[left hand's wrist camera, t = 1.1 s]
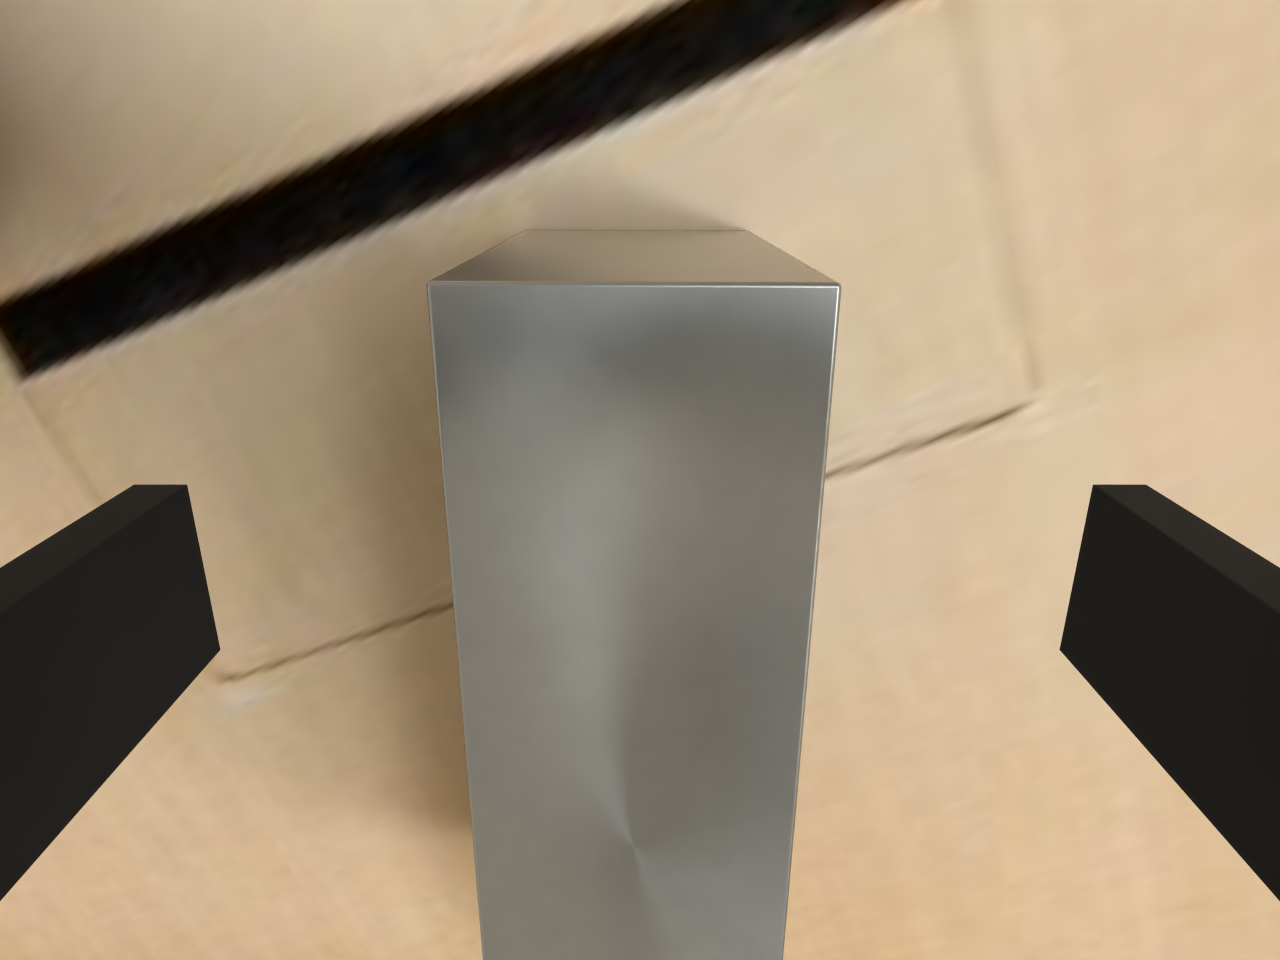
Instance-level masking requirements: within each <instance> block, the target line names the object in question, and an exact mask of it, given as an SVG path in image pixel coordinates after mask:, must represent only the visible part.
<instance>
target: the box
mask: <svg viewBox="0 0 1280 960" xmlns="http://www.w3.org/2000/svg"><path fill="white" fill-rule="evenodd" d="M427 294H428V306H429V318H430V330H431V342H432V354H433V366H434V378H435V390H436V402H437V414H438V426H439V438H440V450H441V462H442V474H443V486H444V498H445V510H446V522H447V534H448V546H449V558H450V570H451V582H452V594H453V606H454V618H455V630H456V642H457V654H458V666H459V678H460V690H461V702H462V714H463V726H464V738H465V750H466V762H467V774H468V786H469V798H470V810H471V822H472V834H473V846H474V858H475V870H476V882H477V894H478V906H479V918H480V930H481V942H482V954H483V960H783V952H784V940H785V929H786V917H787V906H788V894H789V883H790V872H791V860H792V849H793V837H794V826H795V814H796V803H797V791H798V780H799V768H800V757H801V745H802V734H803V722H804V711H805V700H806V688H807V677H808V665H809V654H810V642H811V631H812V619H813V608H814V596H815V585H816V573H817V562H818V550H819V539H820V528H821V516H822V505H823V493H824V482H825V470H826V459H827V447H828V436H829V424H830V413H831V401H832V390H833V378H834V367H835V356H836V344H837V333H838V321H839V310H840V298H841V285H840V283H838V282H836V281H834V280H833V279H831V278H829V277H827V276H826V275H824V274H822V273H821V272H819V271H817V270H815V269H814V268H812V267H810V266H808V265H807V264H805V263H803V262H802V261H800V260H798V259H796V258H795V257H793V256H791V255H789V254H788V253H786V252H784V251H783V250H781V249H779V248H777V247H776V246H774V245H772V244H770V243H769V242H767V241H765V240H764V239H762V238H760V237H758V236H757V235H755V234H753V233H751V232H750V231H663V230H525V231H523V232H521V233H519V234H517V235H515V236H514V237H512V238H510V239H508V240H506V241H504V242H502V243H500V244H499V245H497V246H495V247H493V248H491V249H489V250H487V251H485V252H483V253H482V254H480V255H478V256H476V257H474V258H472V259H470V260H468V261H467V262H465V263H463V264H461V265H459V266H457V267H455V268H453V269H451V270H450V271H448V272H446V273H444V274H442V275H440V276H438V277H436V278H435V279H433V280H431V281H429V282H428V283H427Z"/></svg>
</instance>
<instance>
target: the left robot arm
mask: <svg viewBox="0 0 1280 960" xmlns="http://www.w3.org/2000/svg"><path fill="white" fill-rule="evenodd" d="M219 651H220V646H219V641H218V636H217V631H216V626H215V621H214V616H213V611H212V606H211V601H210V596H209V591H208V587H207V582H206V577H205V572H204V567H203V562H202V557H201V552H200V547H199V542H198V537H197V532H196V527H195V522H194V517H193V512H192V507H191V502H190V497H189V492H188V487H187V485H133V486H131V487H130V488H128V489H126V490H125V491H123V492H122V493H120V494H118V495H117V496H115V497H114V498H112V499H110V500H109V501H107V502H106V503H104V504H102V505H101V506H99V507H97V508H96V509H94V510H93V511H91V512H89V513H88V514H86V515H85V516H83V517H81V518H80V519H78V520H77V521H75V522H73V523H72V524H70V525H69V526H67V527H65V528H64V529H62V530H60V531H59V532H57V533H56V534H54V535H52V536H51V537H49V538H48V539H46V540H44V541H43V542H41V543H40V544H38V545H36V546H35V547H33V548H31V549H30V550H28V551H27V552H25V553H23V554H22V555H20V556H19V557H17V558H15V559H14V560H12V561H11V562H9V563H7V564H6V565H4V566H3V567H1V568H0V901H1V900H2V898H3V897H4V896H5V895H6V894H7V893H8V892H9V890H10V889H11V888H12V887H13V886H14V885H15V884H16V882H17V881H18V880H19V879H20V878H21V877H22V876H23V874H24V873H25V872H26V871H27V870H28V869H29V868H30V866H31V865H32V864H33V863H34V862H35V861H36V860H37V858H38V857H39V856H40V855H41V854H42V853H43V852H44V850H45V849H46V848H47V847H48V846H49V845H50V844H51V842H52V841H53V840H54V839H55V838H56V837H57V836H58V834H59V833H60V832H61V831H62V830H63V829H64V828H65V826H66V825H67V824H68V823H69V822H70V821H71V820H72V818H73V817H74V816H75V815H76V814H77V813H78V812H79V810H80V809H81V808H82V807H83V806H84V805H85V804H86V802H87V801H88V800H89V799H90V798H91V797H92V796H93V794H94V793H95V792H96V791H97V790H98V789H99V788H100V786H101V785H102V784H103V783H104V782H105V781H106V780H107V778H108V777H109V776H110V775H111V774H112V773H113V772H114V770H115V769H116V768H117V767H118V766H119V765H120V764H121V762H122V761H123V760H124V759H125V758H126V757H127V756H128V755H129V753H130V752H131V751H132V750H133V749H134V748H135V747H136V745H137V744H138V743H139V742H140V741H141V740H142V739H143V737H144V736H145V735H146V734H147V733H148V732H149V731H150V729H151V728H152V727H153V726H154V725H155V724H156V723H157V721H158V720H159V719H160V718H161V717H162V716H163V715H164V713H165V712H166V711H167V710H168V709H169V708H170V707H171V705H172V704H173V703H174V702H175V701H176V700H177V699H178V697H179V696H180V695H181V694H182V693H183V692H184V691H185V689H186V688H187V687H188V686H189V685H190V684H191V683H192V681H193V680H194V679H195V678H196V677H197V676H198V675H199V673H200V672H201V671H202V670H203V669H204V668H205V667H206V665H207V664H208V663H209V662H210V661H211V660H212V659H213V657H214V656H215V655H216V654H217V653H218V652H219ZM1060 651H1061V652H1062V653H1063V654H1064V655H1065V656H1066V657H1067V659H1068V660H1069V661H1070V662H1071V663H1072V664H1073V665H1074V667H1075V668H1076V669H1077V670H1078V671H1079V672H1080V673H1081V675H1082V676H1083V677H1084V678H1085V679H1086V680H1087V681H1088V683H1089V684H1090V685H1091V686H1092V687H1093V688H1094V689H1095V691H1096V692H1097V693H1098V694H1099V695H1100V696H1101V697H1102V699H1103V700H1104V701H1105V702H1106V703H1107V704H1108V705H1109V707H1110V708H1111V709H1112V710H1113V711H1114V712H1115V713H1116V715H1117V716H1118V717H1119V718H1120V719H1121V720H1122V721H1123V723H1124V724H1125V725H1126V726H1127V727H1128V728H1129V729H1130V731H1131V732H1132V733H1133V734H1134V735H1135V736H1136V737H1137V739H1138V740H1139V741H1140V742H1141V743H1142V744H1143V745H1144V747H1145V748H1146V749H1147V750H1148V751H1149V752H1150V753H1151V755H1152V756H1153V757H1154V758H1155V759H1156V760H1157V761H1158V762H1159V764H1160V765H1161V766H1162V767H1163V768H1164V769H1165V770H1166V772H1167V773H1168V774H1169V775H1170V776H1171V777H1172V778H1173V780H1174V781H1175V782H1176V783H1177V784H1178V785H1179V786H1180V788H1181V789H1182V790H1183V791H1184V792H1185V793H1186V794H1187V796H1188V797H1189V798H1190V799H1191V800H1192V801H1193V802H1194V804H1195V805H1196V806H1197V807H1198V808H1199V809H1200V810H1201V812H1202V813H1203V814H1204V815H1205V816H1206V817H1207V818H1208V820H1209V821H1210V822H1211V823H1212V824H1213V825H1214V826H1215V828H1216V829H1217V830H1218V831H1219V832H1220V833H1221V834H1222V836H1223V837H1224V838H1225V839H1226V840H1227V841H1228V842H1229V844H1230V845H1231V846H1232V847H1233V848H1234V849H1235V850H1236V852H1237V853H1238V854H1239V855H1240V856H1241V857H1242V858H1243V860H1244V861H1245V862H1246V863H1247V864H1248V865H1249V866H1250V868H1251V869H1252V870H1253V871H1254V872H1255V873H1256V874H1257V876H1258V877H1259V878H1260V879H1261V880H1262V881H1263V882H1264V884H1265V885H1266V886H1267V887H1268V888H1269V889H1270V890H1271V892H1272V893H1273V894H1274V895H1275V896H1276V897H1277V898H1278V900H1279V901H1280V568H1279V567H1277V566H1276V565H1274V564H1273V563H1271V562H1269V561H1268V560H1266V559H1265V558H1263V557H1261V556H1260V555H1258V554H1257V553H1255V552H1253V551H1252V550H1250V549H1249V548H1247V547H1245V546H1244V545H1242V544H1240V543H1239V542H1237V541H1236V540H1234V539H1232V538H1231V537H1229V536H1228V535H1226V534H1224V533H1223V532H1221V531H1220V530H1218V529H1216V528H1215V527H1213V526H1211V525H1210V524H1208V523H1207V522H1205V521H1203V520H1202V519H1200V518H1199V517H1197V516H1195V515H1194V514H1192V513H1191V512H1189V511H1187V510H1186V509H1184V508H1183V507H1181V506H1179V505H1178V504H1176V503H1174V502H1173V501H1171V500H1170V499H1168V498H1166V497H1165V496H1163V495H1162V494H1160V493H1158V492H1157V491H1155V490H1154V489H1152V488H1150V487H1149V486H1147V485H1093V487H1092V492H1091V497H1090V502H1089V507H1088V512H1087V517H1086V522H1085V527H1084V532H1083V537H1082V542H1081V547H1080V552H1079V557H1078V562H1077V567H1076V572H1075V577H1074V582H1073V587H1072V591H1071V596H1070V601H1069V606H1068V611H1067V616H1066V621H1065V626H1064V631H1063V636H1062V641H1061V646H1060Z"/></svg>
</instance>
